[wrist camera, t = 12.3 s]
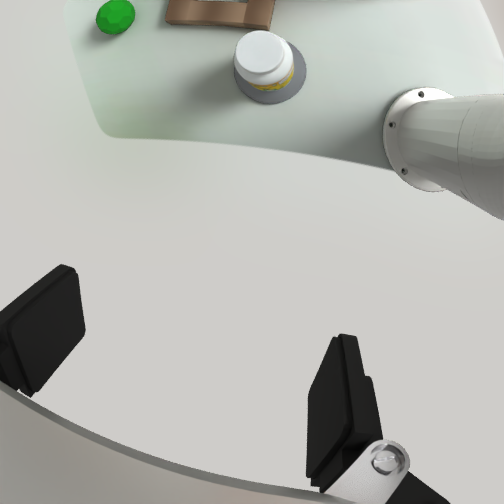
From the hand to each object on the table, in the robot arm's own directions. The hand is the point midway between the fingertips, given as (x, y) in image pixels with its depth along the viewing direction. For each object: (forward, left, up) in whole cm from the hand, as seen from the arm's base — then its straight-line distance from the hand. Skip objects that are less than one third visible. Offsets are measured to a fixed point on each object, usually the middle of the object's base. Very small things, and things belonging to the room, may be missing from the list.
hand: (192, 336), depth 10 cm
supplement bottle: (+2, -13, -28) cm, 31 cm away
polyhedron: (+22, -19, -29) cm, 41 cm away
